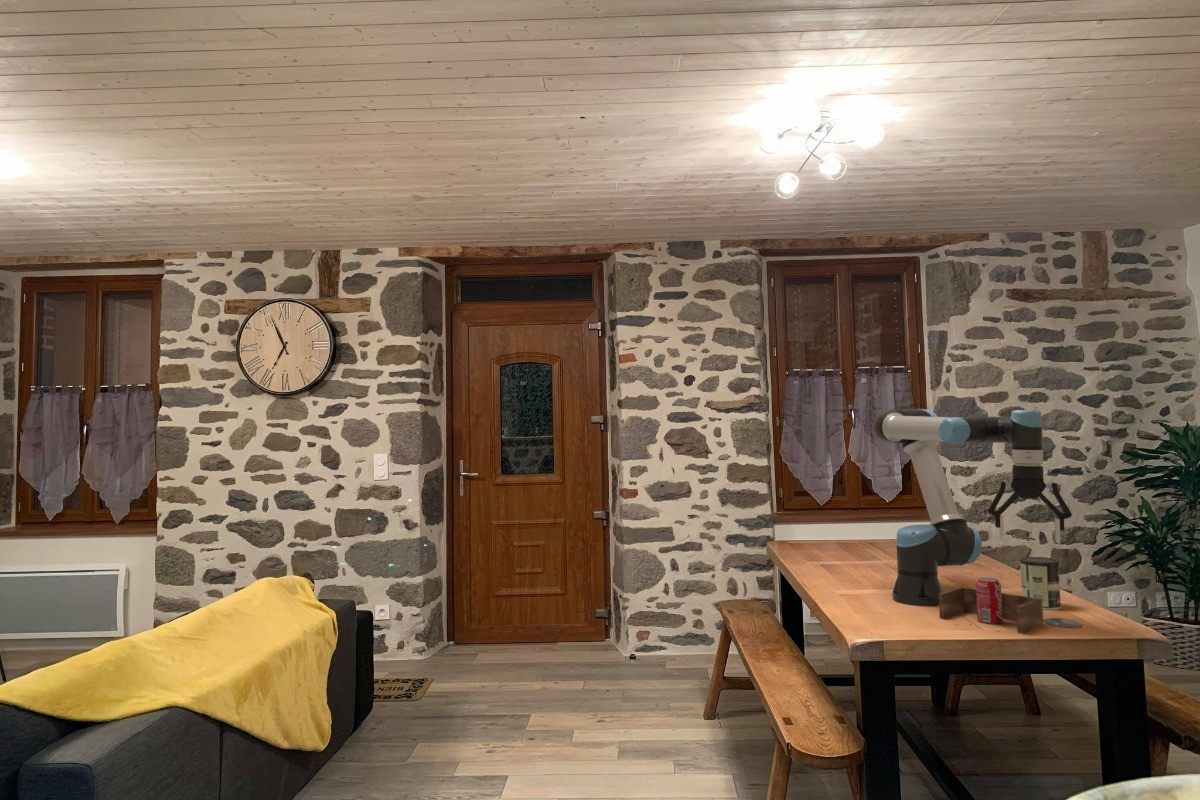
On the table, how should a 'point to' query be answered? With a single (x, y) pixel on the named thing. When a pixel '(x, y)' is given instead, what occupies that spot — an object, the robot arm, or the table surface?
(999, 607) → the beverage can
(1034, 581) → the coffee can
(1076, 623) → the slate coaster
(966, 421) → the robot arm
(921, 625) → the table surface
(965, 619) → the table surface
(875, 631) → the table surface
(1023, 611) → the walnut u-shaped barrier
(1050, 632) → the table surface
